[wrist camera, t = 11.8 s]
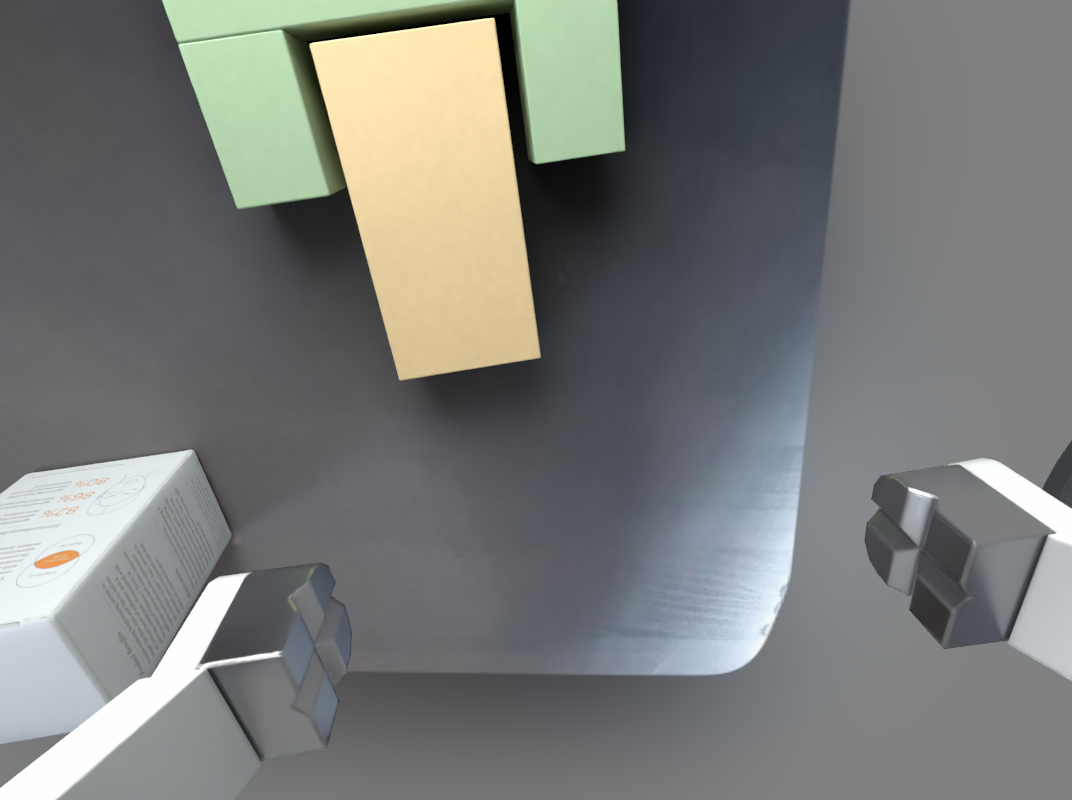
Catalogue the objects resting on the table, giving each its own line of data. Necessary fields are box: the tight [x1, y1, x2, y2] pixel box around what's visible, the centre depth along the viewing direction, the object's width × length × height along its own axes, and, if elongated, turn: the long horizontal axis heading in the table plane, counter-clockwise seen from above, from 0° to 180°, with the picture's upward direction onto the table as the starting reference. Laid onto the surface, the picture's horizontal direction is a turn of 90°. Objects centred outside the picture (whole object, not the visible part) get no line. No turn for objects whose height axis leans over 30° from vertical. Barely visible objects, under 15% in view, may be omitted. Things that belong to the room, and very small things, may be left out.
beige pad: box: [310, 18, 541, 380], centre depth 22 cm, size 6×12×3 cm, turn 8°
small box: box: [0, 450, 232, 744], centre depth 23 cm, size 8×6×10 cm
